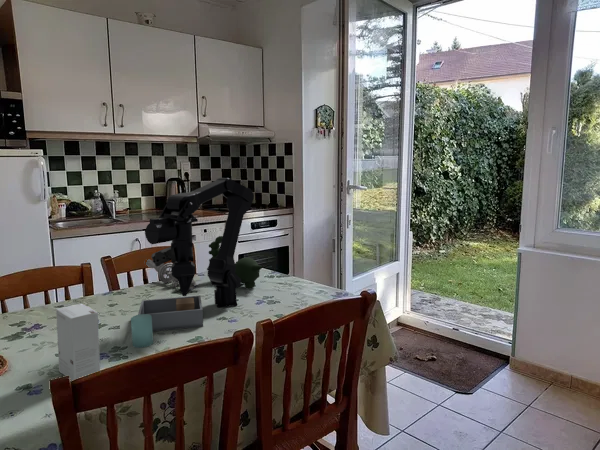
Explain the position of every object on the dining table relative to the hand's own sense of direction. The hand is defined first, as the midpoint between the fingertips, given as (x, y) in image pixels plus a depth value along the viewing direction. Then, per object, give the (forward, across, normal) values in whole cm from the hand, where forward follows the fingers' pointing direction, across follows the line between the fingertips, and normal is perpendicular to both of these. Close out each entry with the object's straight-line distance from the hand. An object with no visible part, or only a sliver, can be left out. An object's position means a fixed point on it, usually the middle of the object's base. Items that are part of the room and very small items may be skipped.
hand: (184, 291), depth 126 cm
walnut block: (+8, 0, 0) cm, 8 cm away
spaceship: (+9, -42, -6) cm, 43 cm away
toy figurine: (+9, -31, +19) cm, 38 cm away
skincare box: (+9, +27, -23) cm, 36 cm away
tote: (+9, 0, -4) cm, 10 cm away
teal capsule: (+9, +14, -11) cm, 20 cm away
